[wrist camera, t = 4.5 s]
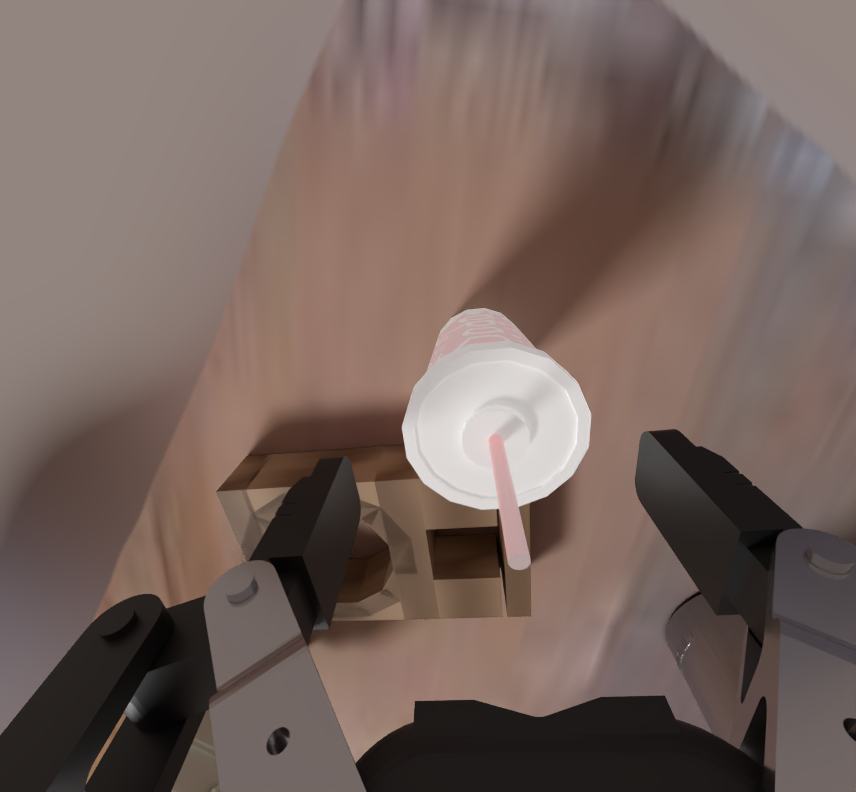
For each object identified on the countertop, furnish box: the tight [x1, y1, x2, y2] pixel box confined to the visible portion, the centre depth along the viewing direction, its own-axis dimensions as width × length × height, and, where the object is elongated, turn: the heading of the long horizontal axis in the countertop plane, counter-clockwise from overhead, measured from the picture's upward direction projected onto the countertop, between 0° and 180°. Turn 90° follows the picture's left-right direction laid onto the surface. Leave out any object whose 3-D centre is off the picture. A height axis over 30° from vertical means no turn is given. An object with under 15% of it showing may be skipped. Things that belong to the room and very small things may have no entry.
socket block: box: [216, 445, 531, 621], centre depth 24 cm, size 17×11×4 cm, turn 97°
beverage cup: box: [402, 308, 591, 570], centre depth 14 cm, size 6×6×14 cm
